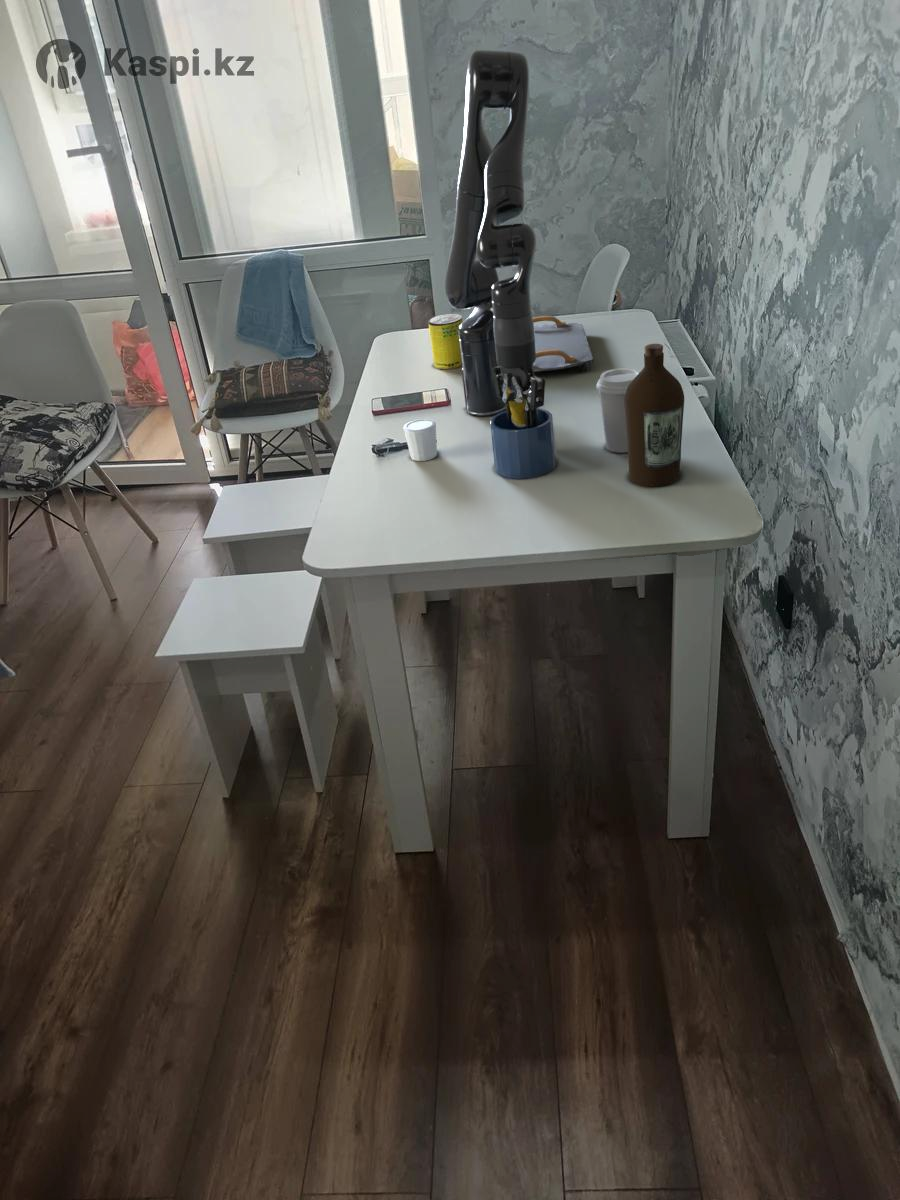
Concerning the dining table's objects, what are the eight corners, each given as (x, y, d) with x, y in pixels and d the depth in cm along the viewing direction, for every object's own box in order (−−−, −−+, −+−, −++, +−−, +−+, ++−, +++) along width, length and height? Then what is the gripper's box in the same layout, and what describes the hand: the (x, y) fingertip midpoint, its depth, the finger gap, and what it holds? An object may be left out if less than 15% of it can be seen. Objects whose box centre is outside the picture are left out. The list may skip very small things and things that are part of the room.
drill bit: (546, 426, 179) (524, 406, 171) (523, 438, 181) (500, 419, 173) (540, 404, 181) (517, 383, 173) (516, 416, 183) (493, 396, 175)
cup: (483, 467, 186) (477, 421, 180) (529, 448, 191) (526, 402, 186) (519, 484, 177) (515, 436, 171) (568, 464, 182) (565, 416, 177)
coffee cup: (649, 437, 188) (648, 366, 180) (642, 456, 181) (641, 383, 173) (603, 436, 191) (600, 367, 183) (594, 455, 184) (591, 383, 176)
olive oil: (617, 471, 176) (613, 344, 163) (668, 460, 178) (669, 333, 164) (639, 493, 167) (637, 360, 154) (693, 481, 169) (695, 348, 155)
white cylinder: (416, 465, 191) (411, 433, 187) (402, 455, 196) (397, 424, 192) (445, 455, 193) (441, 424, 189) (431, 446, 198) (426, 415, 195)
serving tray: (596, 374, 224) (595, 350, 220) (502, 385, 226) (500, 360, 223) (582, 330, 256) (581, 307, 253) (500, 339, 259) (498, 317, 255)
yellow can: (473, 359, 246) (468, 314, 240) (455, 370, 240) (450, 324, 234) (445, 357, 251) (439, 313, 245) (427, 367, 245) (421, 323, 239)
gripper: (554, 339, 166) (560, 426, 175) (507, 326, 177) (514, 409, 186) (522, 350, 163) (529, 438, 172) (475, 337, 174) (485, 420, 183)
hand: (521, 422), depth 179 cm, fingers closed on drill bit, 5 cm apart
